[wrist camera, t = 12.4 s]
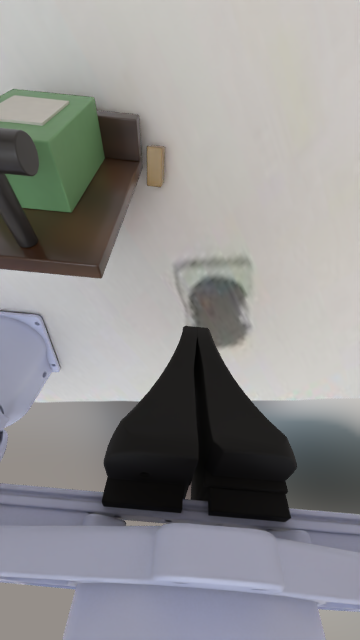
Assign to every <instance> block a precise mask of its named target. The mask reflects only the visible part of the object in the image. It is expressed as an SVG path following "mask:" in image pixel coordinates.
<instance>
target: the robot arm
mask: <svg viewBox="0 0 360 640" xmlns="http://www.w3.org/2000/svg"><path fill="white" fill-rule="evenodd" d="M59 371H60V366H59V364H58V361H57V358H56V355H55V353H54V350H53V347H52V345H51V342H50V339H49V336H48V334H47V331H46V328H45V326H44V323H43V320H42V318H41V317H40V316H39V315H33V314H23V313H12V312H2V311H0V461H1V460H2V458H3V455H4V453H5V450H6V446H7V440H8V434H7V432H6V431H5V430H4V428H5V427H7V426H10V425H12V424H13V423H15V422H17V421H18V420H19V419H21V418H22V417H23V416H24V415H25V414H26V413H27V412H28V410H29V409H30V407H31V406H32V404H33V402H34V401H35V399H36V397H37V396H38V394H39V392H40V391H41V389H42V387H43V386H44V384H45V382H46V381H47V379H48V377H49V376H50V374H51V372H59ZM104 467H105V470H106V473H107V476H108V478H107V482H106V486H105V490H104V492H95V491H84V490H73V489H61V488H50V487H38V486H27V485H14V484H4V483H0V582H3V583H14V584H25V585H35V586H45V587H55V588H66V589H75V594H74V597H73V601H72V605H71V609H70V613H69V616H68V620H67V624H66V628H65V631H64V635H63V639H62V640H326V639H325V635H324V631H323V627H322V623H321V619H320V615H319V611H318V609H324V610H338V611H354V612H360V514H348V513H337V512H326V511H315V510H302V509H292V508H289V507H288V503H287V499H286V495H285V494H286V493H287V492H288V490H287V486H286V482H285V480H287V479H288V478H289V477H290V476H291V475H292V474H293V473H294V471H295V470H296V468H297V463H296V460H295V456H294V454H293V451H292V449H291V446H290V444H289V442H288V439H287V437H286V436H285V435H284V434H283V433H282V432H281V431H280V430H278V429H277V428H276V427H275V426H274V425H273V424H272V423H271V422H270V421H269V420H268V419H267V418H266V417H265V416H264V415H263V414H262V413H261V412H260V411H259V410H258V408H257V407H256V406H255V405H254V404H253V403H252V402H251V400H250V399H249V398H248V397H247V396H246V394H245V393H244V392H243V390H242V389H241V388H240V387H239V385H238V384H237V382H236V381H235V379H234V378H233V376H232V375H231V373H230V372H229V370H228V368H227V367H226V365H225V363H224V362H223V360H222V358H221V356H220V354H219V352H218V350H217V348H216V346H215V344H214V341H213V339H212V336H211V333H210V330H209V329H208V328H201V327H191V326H185V327H183V332H182V335H181V338H180V341H179V344H178V346H177V348H176V350H175V352H174V354H173V356H172V358H171V360H170V362H169V363H168V365H167V367H166V368H165V370H164V372H163V373H162V374H161V376H160V377H159V379H158V380H157V382H156V383H155V384H154V386H153V387H152V388H151V389H150V391H149V392H148V393H147V394H146V395H145V396H144V398H143V399H142V400H141V401H140V402H139V403H138V404H137V405H136V407H135V408H134V409H133V410H132V411H131V412H130V413H128V414H127V416H126V417H124V418H123V419H122V420H121V421H120V423H119V425H118V427H117V428H116V430H115V432H114V434H113V436H112V438H111V440H110V443H109V445H108V448H107V451H106V455H105V458H104ZM191 481H192V485H191V500H188V499H185V497H186V493H187V490H188V487H189V485H190V484H191ZM124 520H131V521H144V522H155V523H166V524H164V525H162V526H126V522H125V521H124Z"/></svg>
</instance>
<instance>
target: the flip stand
mask: <svg viewBox="0 0 360 640" xmlns="http://www.w3.org/2000/svg"><path fill="white" fill-rule="evenodd" d="M97 116H98V122H99V127H100V133H101V139H102V145H103V150H104V156H105V159H104V161H103V162H102V164H101V165H100V167H99V169H98V170H97V172H96V174H95V175H94V177H93V179H92V180H91V182H90V184H89V185H88V187H87V188H86V190H85V192H84V193H83V195H82V197H81V198H80V200H79V202H78V203H77V205H76V207H75V208H74V210H73V211H72V212H71V213H69V212H59V211H49V210H39V209H29V208H22V206H21V204H20V202H19V200H18V198H17V196H16V194H15V192H14V190H13V188H12V187H11V185H10V183H9V181H8V179H7V177H6V175H5V174H12V175H22V176H34V175H36V174H37V172H38V169H39V157H38V152H37V149H36V146H35V144H34V142H33V140H32V138H31V137H30V136H29V135H28V134H27V133H26V132H25V131H23V130H17V129H7V128H0V269H7V270H18V271H28V272H39V273H49V274H59V275H70V276H80V277H90V278H102V276H103V274H104V271H105V268H106V265H107V263H108V260H109V257H110V255H111V252H112V249H113V246H114V244H115V241H116V238H117V236H118V233H119V230H120V227H121V225H122V222H123V219H124V217H125V214H126V211H127V208H128V206H129V203H130V200H131V198H132V195H133V192H134V189H135V187H136V184H137V181H138V179H139V176H140V173H141V170H142V157H141V156H142V152H141V135H140V119H139V115H137V114H127V113H118V112H108V111H99V110H97Z"/></svg>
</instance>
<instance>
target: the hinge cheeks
mask: <svg viewBox="0 0 360 640" xmlns="http://www.w3.org/2000/svg"><path fill="white" fill-rule="evenodd" d="M164 159H165V147H164V146H155V145H150V146H147V185H148V186H156V187H161V186H162V185H163V183H164Z"/></svg>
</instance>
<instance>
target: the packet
mask: <svg viewBox="0 0 360 640" xmlns="http://www.w3.org/2000/svg"><path fill="white" fill-rule="evenodd" d="M0 128H7V129H17V130H23V131H25V132H26V133H27V134H28V135H29V136H30V137H31V138H32V140H33V142H34V144H35V146H36V149H37V152H38V157H39V169H38V172H37V174H36V175H34V176H22V175H12V174H5V175H6V177H7V179H8V181H9V183H10V185H11V187H12V188H13V190H14V192H15V194H16V196H17V198H18V200H19V202H20V204H21V206H22V208H29V209H39V210H49V211H59V212H69V213H71V212H72V211H73V210H74V208H75V207H76V205H77V203H78V202H79V200H80V198H81V197H82V195H83V193H84V192H85V190H86V188H87V187H88V185H89V184H90V182H91V180H92V179H93V177H94V175H95V174H96V172H97V170H98V169H99V167H100V165H101V164H102V162H103V161H104V159H105V156H104V150H103V145H102V139H101V133H100V127H99V122H98V116H97V110H96V104H95V99H94V98H93V97H85V96H76V95H66V94H57V93H47V92H38V91H28V90H18V89H13V90H11V91H9V92H7V93H5V94H3V95H1V96H0Z"/></svg>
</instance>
